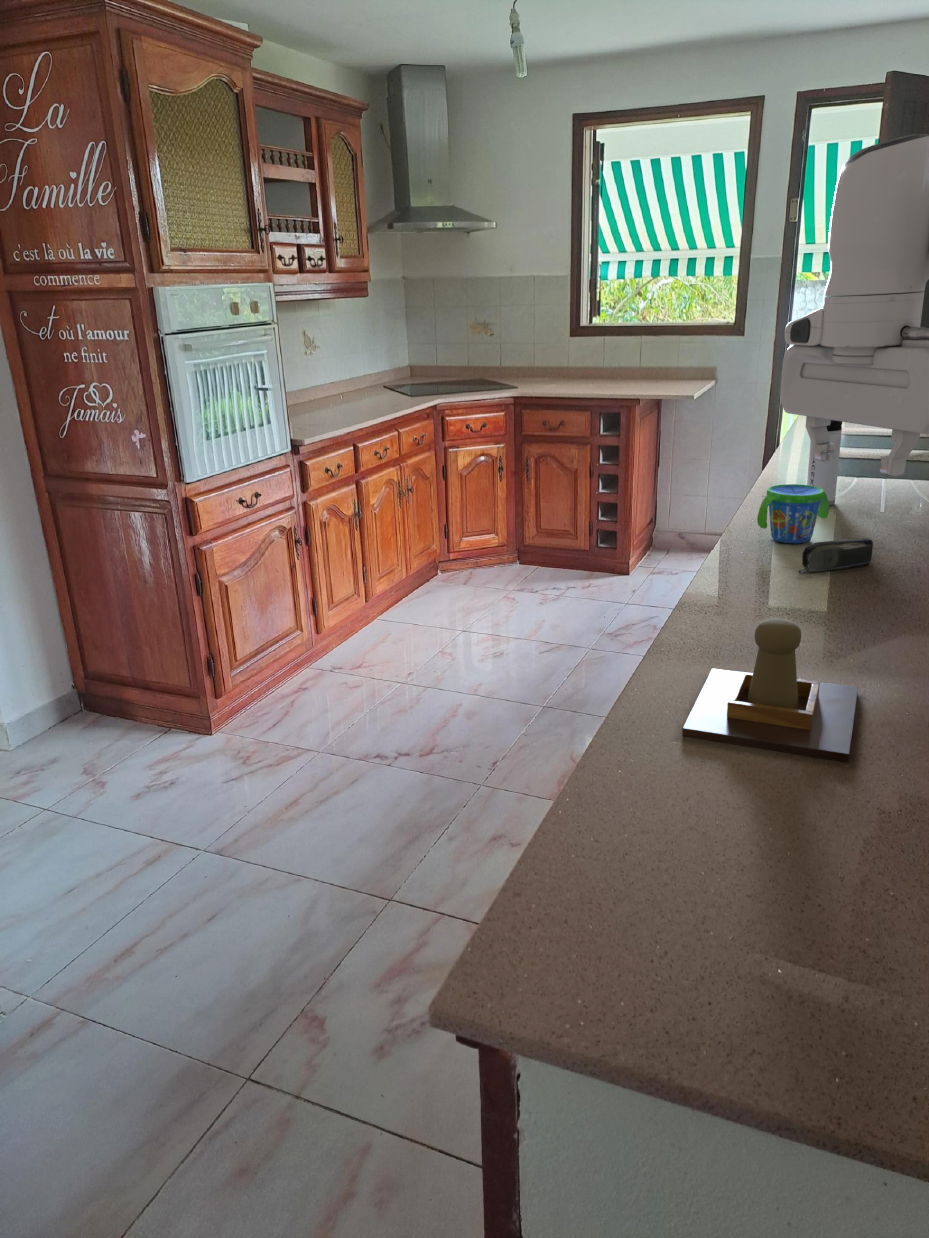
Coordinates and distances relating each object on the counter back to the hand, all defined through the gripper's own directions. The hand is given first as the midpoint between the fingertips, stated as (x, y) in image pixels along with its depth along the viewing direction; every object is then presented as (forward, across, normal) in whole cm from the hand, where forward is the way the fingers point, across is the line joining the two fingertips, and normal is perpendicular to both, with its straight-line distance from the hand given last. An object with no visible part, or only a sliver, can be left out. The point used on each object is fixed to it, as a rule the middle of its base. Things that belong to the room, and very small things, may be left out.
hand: (855, 467), depth 90 cm
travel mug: (+31, +85, -75) cm, 118 cm away
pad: (+31, +7, +2) cm, 32 cm away
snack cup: (+31, +65, -50) cm, 88 cm away
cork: (+30, +7, +2) cm, 31 cm away
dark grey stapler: (+31, +47, -44) cm, 71 cm away
